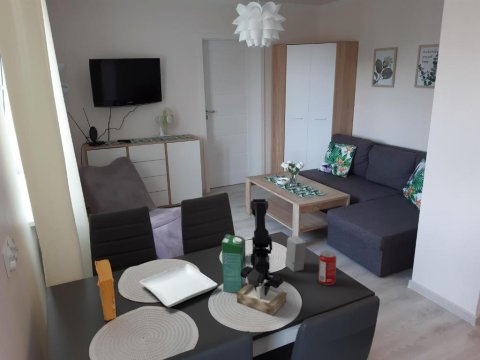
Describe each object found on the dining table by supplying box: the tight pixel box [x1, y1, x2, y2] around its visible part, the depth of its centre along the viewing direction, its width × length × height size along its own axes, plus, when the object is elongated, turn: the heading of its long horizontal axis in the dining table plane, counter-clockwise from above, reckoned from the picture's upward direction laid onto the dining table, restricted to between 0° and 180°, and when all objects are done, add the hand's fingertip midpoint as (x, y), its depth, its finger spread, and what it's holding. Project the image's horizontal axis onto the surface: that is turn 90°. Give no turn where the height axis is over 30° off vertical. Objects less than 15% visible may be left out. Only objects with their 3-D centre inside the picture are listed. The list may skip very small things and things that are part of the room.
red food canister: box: [318, 250, 337, 286], centre depth 179 cm, size 8×8×15 cm
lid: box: [244, 281, 279, 303], centre depth 165 cm, size 15×10×6 cm, turn 56°
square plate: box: [139, 263, 218, 308], centre depth 178 cm, size 27×27×4 cm
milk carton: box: [221, 233, 247, 293], centre depth 175 cm, size 9×9×25 cm
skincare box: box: [284, 235, 307, 273], centre depth 193 cm, size 8×7×16 cm
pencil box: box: [236, 283, 287, 317], centre depth 165 cm, size 18×12×5 cm, turn 56°
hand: (261, 294), depth 165 cm, fingers open, 4 cm apart
